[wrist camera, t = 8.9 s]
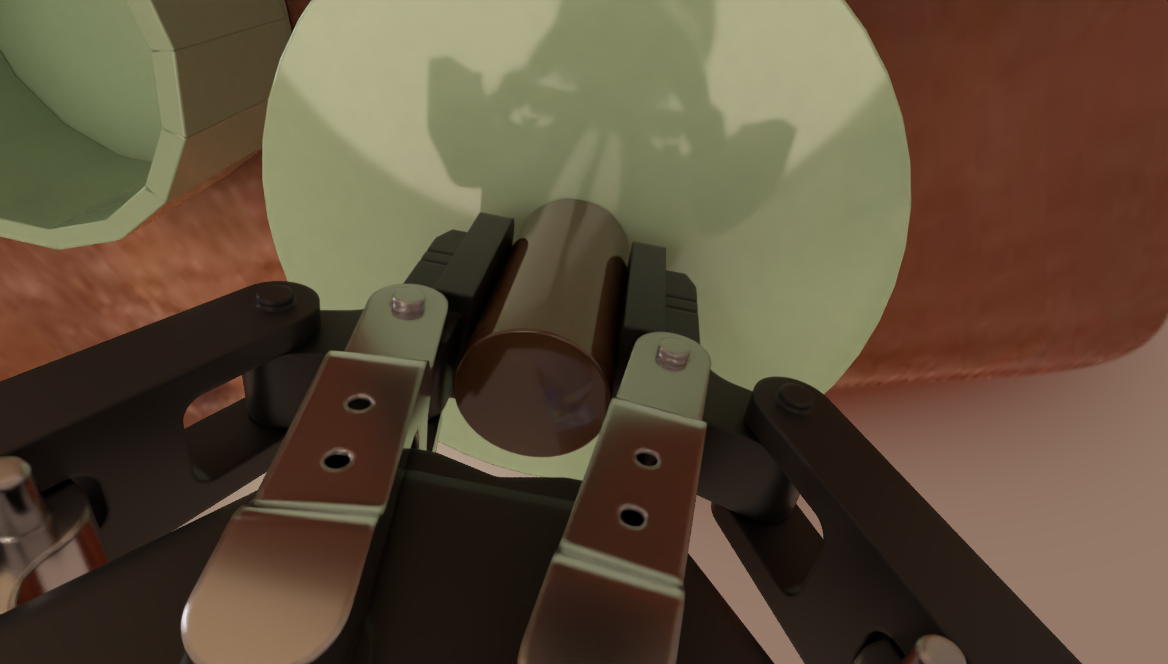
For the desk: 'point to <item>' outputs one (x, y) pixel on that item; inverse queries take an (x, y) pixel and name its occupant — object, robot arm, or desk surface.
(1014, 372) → the desk surface
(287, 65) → the lid
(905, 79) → the desk surface
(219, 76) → the pot
